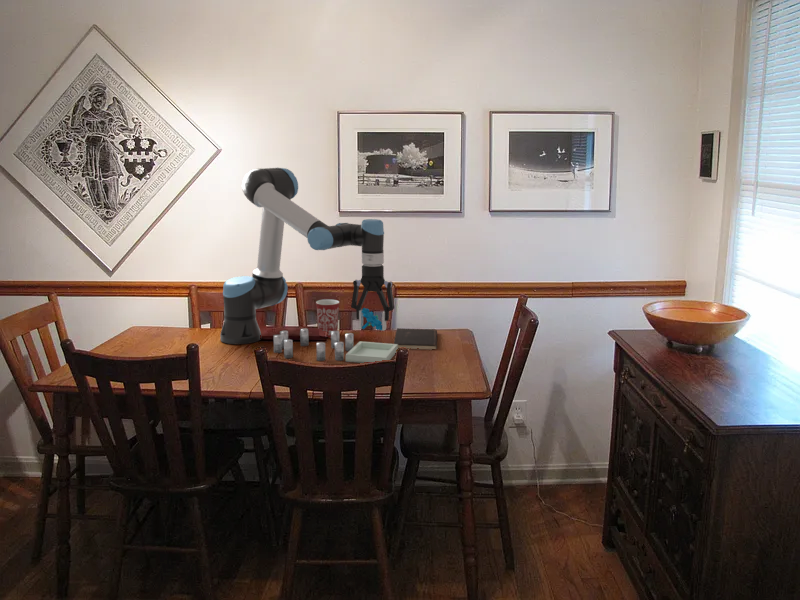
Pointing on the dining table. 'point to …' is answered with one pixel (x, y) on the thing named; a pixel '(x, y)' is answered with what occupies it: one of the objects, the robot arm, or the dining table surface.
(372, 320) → the blue plastic irregular piece
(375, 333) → the dining table surface
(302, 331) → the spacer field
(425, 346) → the hardcover book
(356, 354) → the parts tray
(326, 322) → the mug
